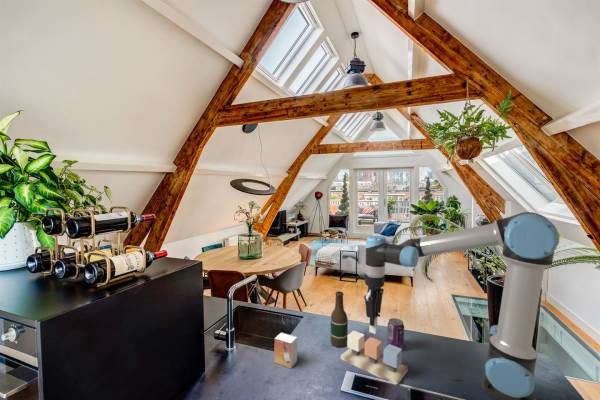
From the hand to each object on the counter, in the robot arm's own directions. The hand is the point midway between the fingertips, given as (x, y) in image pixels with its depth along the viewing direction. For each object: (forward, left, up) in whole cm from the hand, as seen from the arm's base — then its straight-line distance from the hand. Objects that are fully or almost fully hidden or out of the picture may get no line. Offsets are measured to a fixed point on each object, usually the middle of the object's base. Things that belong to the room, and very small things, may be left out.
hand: (373, 332), depth 115 cm
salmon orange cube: (0, 0, -9) cm, 9 cm away
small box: (+28, +22, -14) cm, 38 cm away
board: (0, 0, -14) cm, 14 cm away
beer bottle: (+19, -4, -14) cm, 24 cm away
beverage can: (-2, -18, -14) cm, 23 cm away
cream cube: (+8, 0, -9) cm, 12 cm away
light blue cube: (-8, 0, -9) cm, 12 cm away
